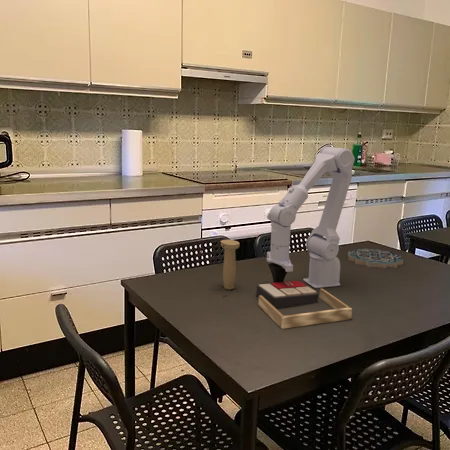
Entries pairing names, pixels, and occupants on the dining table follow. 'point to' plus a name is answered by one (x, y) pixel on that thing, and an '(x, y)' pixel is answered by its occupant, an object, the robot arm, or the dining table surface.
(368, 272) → the dining table surface
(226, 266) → the handle
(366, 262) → the decorative tile
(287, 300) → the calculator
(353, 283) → the dining table surface
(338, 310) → the box
